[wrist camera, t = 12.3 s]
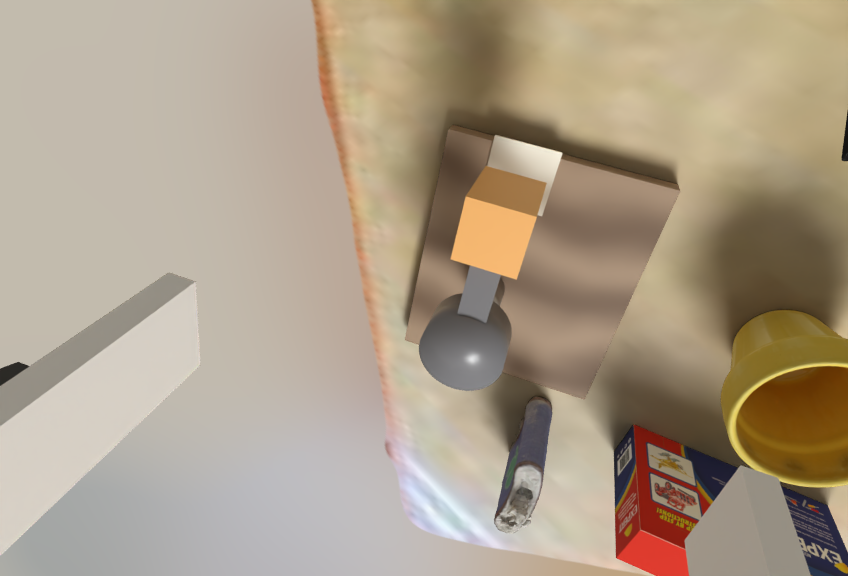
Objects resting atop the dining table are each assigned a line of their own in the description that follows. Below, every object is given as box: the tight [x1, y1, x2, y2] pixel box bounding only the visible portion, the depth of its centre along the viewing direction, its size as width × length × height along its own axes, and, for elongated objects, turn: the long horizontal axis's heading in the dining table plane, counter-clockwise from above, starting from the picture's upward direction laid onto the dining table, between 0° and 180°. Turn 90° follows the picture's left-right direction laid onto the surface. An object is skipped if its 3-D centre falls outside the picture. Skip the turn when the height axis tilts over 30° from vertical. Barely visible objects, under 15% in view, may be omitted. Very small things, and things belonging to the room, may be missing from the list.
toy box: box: [614, 424, 848, 576], centre depth 46 cm, size 18×4×12 cm, turn 73°
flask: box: [494, 396, 552, 533], centre depth 49 cm, size 9×3×11 cm, turn 169°
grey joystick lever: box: [419, 166, 547, 391], centre depth 36 cm, size 15×6×6 cm, turn 169°
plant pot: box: [721, 310, 848, 487], centre depth 39 cm, size 10×10×10 cm
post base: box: [405, 125, 680, 399], centre depth 42 cm, size 20×17×8 cm
